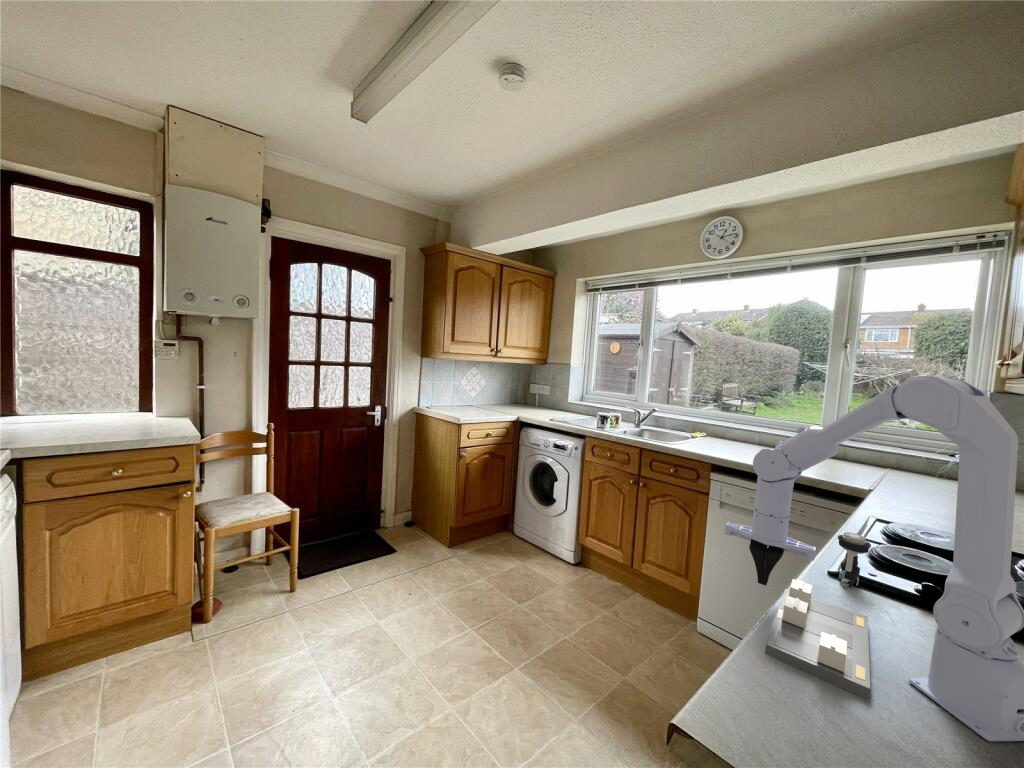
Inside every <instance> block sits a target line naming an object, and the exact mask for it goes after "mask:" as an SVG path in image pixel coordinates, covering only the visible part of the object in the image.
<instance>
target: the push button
mask: <svg viewBox="0 0 1024 768" xmlns="http://www.w3.org/2000/svg"><path fill="white" fill-rule="evenodd" d="M837 540H838V545H839V546H840V547H842V549H843V550H845V551H847V552H846V553H845V559H844V561H842V562H841V564H840V569H841V571H840V572H839V575H838V580H840V584H841V586H843V587H846V588H847V587H849V588H851V587H853V586H854V584H855V583H856V584H855V585H856V586H859V582H860V573H861V567H860V566H858V565H859V561H858V559H859V556H858V554H859V555H864V554H866V553H867V554H868V553H869V549H870V548H871V547H872V544H871V543H870V542H869V541H866V540H867V538H866V537H865V536H863V535H861V534H858V533H853V532H847V531H846V532H845V531H844V532H843V534H839V535H837Z"/></svg>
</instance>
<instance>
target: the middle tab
mask: <svg viewBox="0 0 1024 768" xmlns="http://www.w3.org/2000/svg"><path fill="white" fill-rule="evenodd" d="M807 610H808V603H806V602H803V601H801V600H799V598H796V599H795V598H792V597H789V596H787V598H786V601H785V604H784V610H783V618H782V620H784V621H786V622H789V623H792V624H794V625H797V626H799V627H802V628H804V627H805V622H806V618H807Z"/></svg>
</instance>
